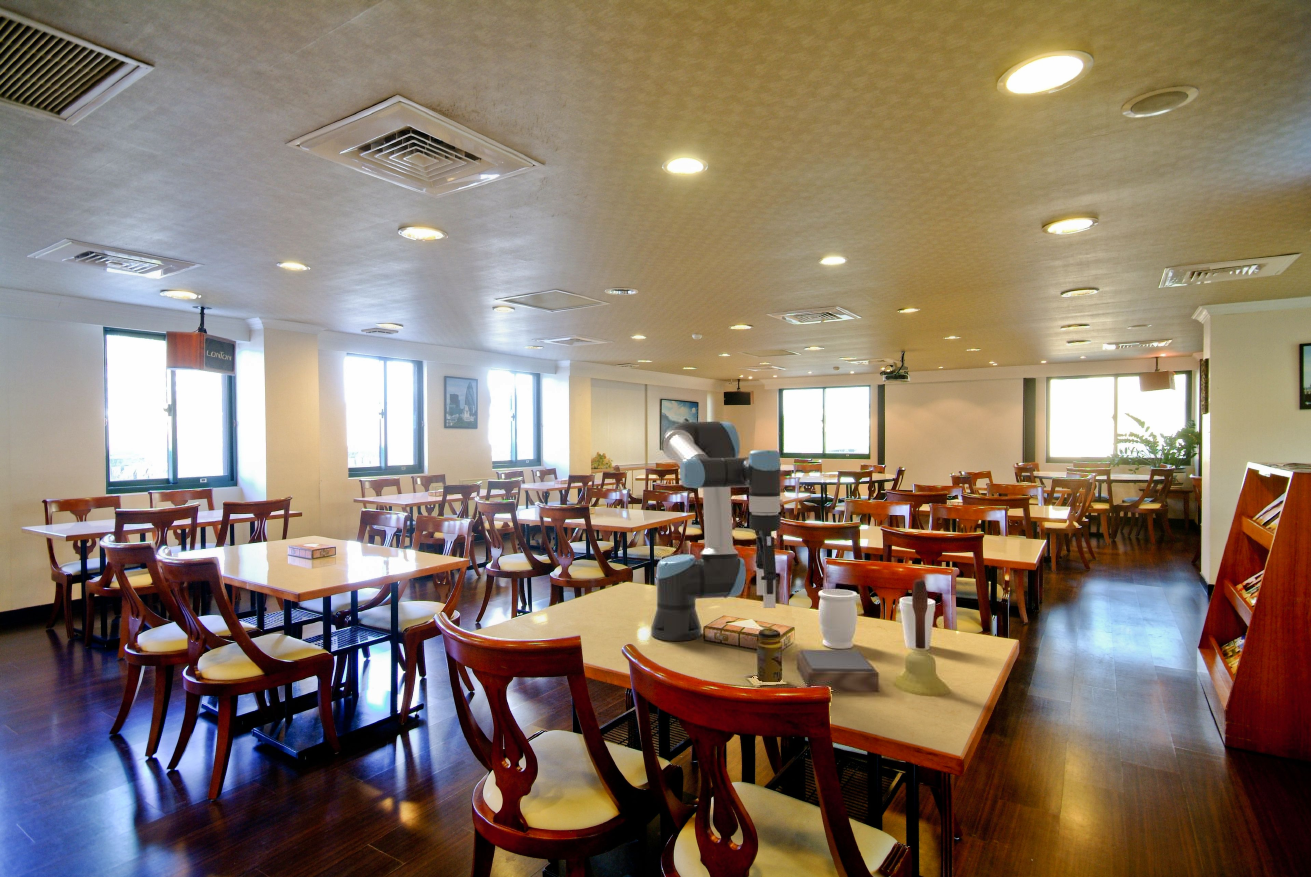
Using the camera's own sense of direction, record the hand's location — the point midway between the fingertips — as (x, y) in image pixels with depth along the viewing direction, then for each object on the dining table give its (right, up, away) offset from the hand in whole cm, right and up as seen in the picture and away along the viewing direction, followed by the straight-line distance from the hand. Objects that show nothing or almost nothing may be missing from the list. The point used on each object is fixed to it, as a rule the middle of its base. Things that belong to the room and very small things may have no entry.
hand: (765, 601), depth 163 cm
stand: (+17, -19, 0) cm, 26 cm away
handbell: (+36, -19, -4) cm, 41 cm away
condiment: (0, -20, 0) cm, 20 cm away
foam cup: (+47, -19, +26) cm, 57 cm away
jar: (+25, -20, +28) cm, 42 cm away
